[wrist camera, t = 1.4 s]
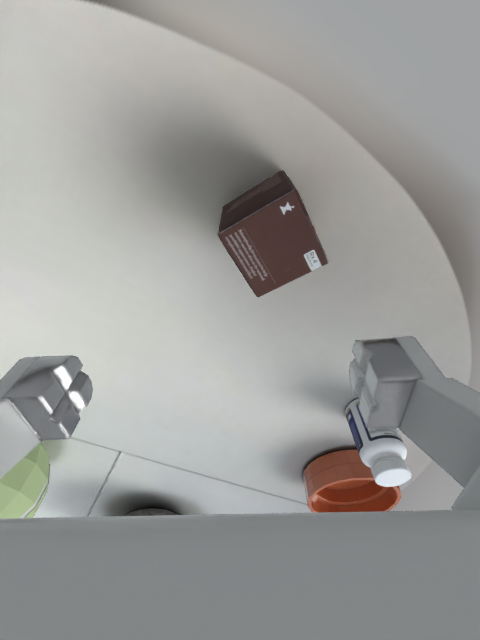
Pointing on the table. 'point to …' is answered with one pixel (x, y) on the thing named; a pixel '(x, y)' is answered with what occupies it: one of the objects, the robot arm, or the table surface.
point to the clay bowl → (345, 485)
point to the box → (271, 235)
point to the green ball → (25, 485)
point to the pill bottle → (379, 449)
